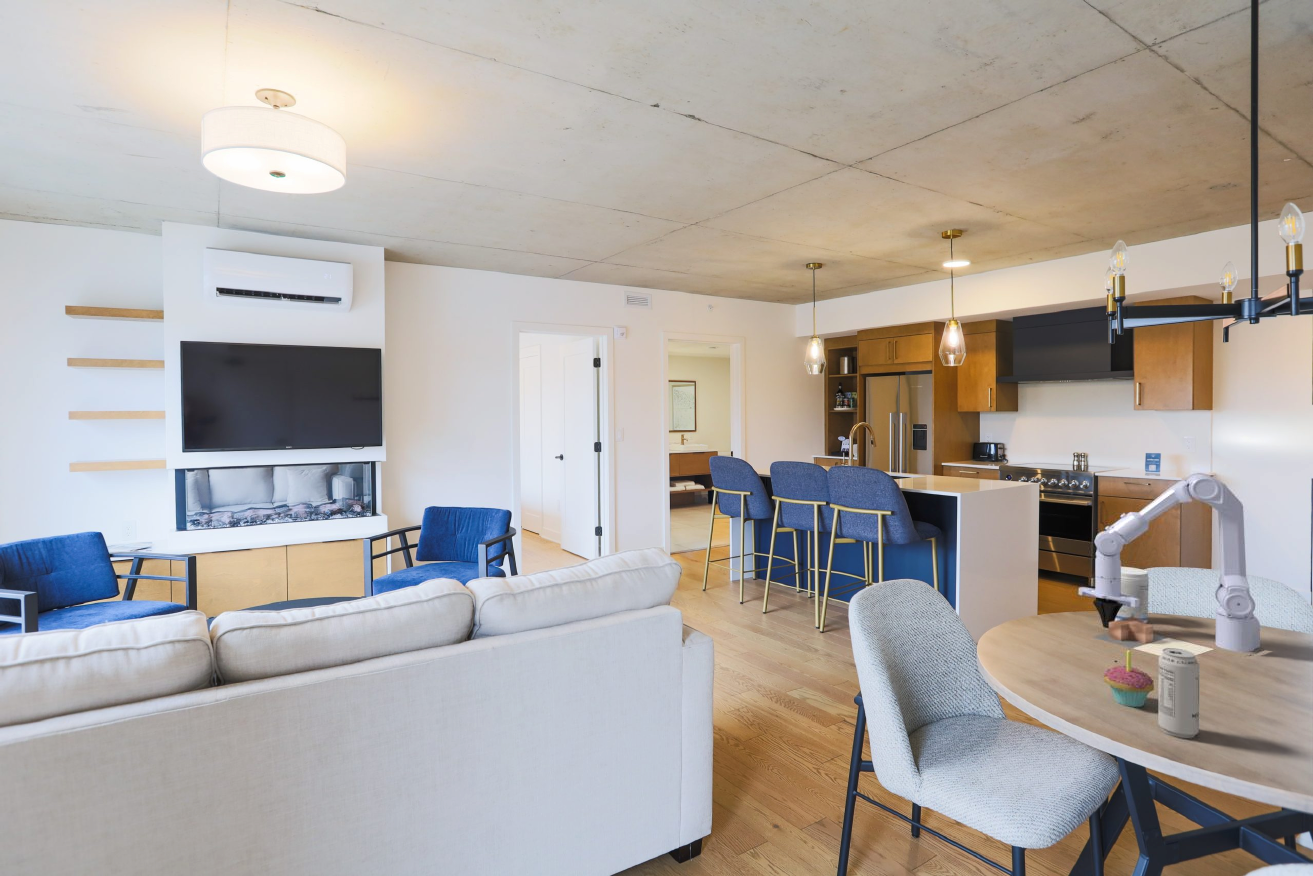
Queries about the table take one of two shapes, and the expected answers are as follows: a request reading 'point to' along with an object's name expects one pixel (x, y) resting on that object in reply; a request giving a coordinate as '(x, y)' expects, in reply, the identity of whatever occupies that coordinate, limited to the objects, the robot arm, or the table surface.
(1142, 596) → the supplement tub
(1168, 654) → the energy drink can
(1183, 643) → the board
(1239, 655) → the table surface
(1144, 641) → the t block
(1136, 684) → the cupcake
